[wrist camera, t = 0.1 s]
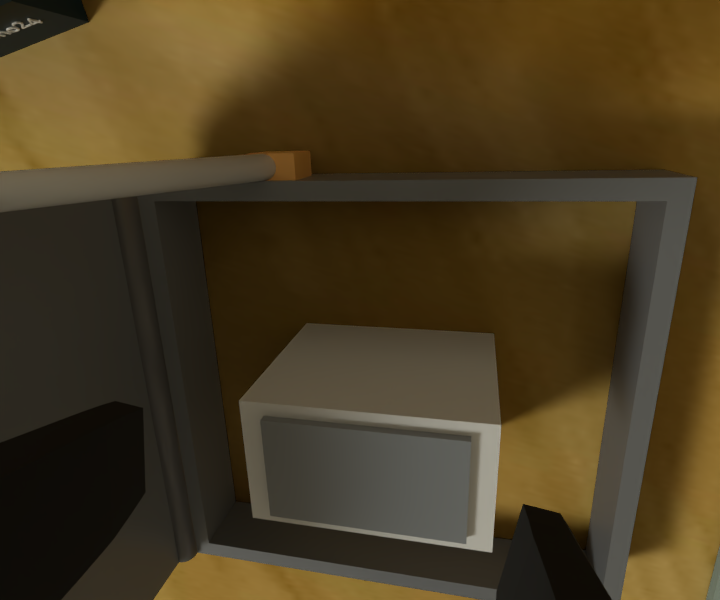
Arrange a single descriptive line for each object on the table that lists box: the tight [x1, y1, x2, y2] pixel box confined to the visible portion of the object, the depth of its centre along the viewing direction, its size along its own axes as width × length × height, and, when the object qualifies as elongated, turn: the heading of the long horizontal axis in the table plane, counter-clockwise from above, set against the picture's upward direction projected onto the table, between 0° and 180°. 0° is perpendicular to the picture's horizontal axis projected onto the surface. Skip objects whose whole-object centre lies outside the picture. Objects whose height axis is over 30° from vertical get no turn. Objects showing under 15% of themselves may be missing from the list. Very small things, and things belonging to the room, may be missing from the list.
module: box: [239, 323, 501, 553], centre depth 16 cm, size 4×7×6 cm, turn 92°
